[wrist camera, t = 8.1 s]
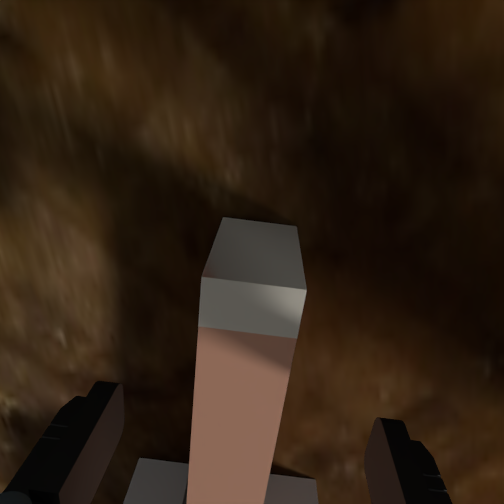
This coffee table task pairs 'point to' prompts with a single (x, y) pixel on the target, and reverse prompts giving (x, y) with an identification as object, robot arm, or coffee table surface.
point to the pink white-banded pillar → (243, 358)
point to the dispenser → (176, 483)
